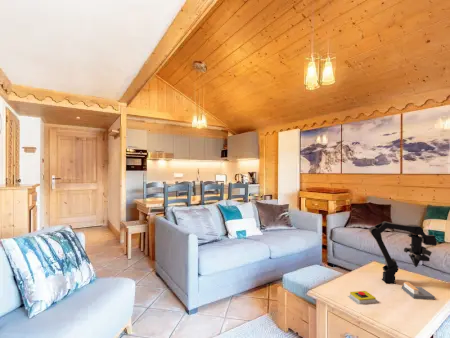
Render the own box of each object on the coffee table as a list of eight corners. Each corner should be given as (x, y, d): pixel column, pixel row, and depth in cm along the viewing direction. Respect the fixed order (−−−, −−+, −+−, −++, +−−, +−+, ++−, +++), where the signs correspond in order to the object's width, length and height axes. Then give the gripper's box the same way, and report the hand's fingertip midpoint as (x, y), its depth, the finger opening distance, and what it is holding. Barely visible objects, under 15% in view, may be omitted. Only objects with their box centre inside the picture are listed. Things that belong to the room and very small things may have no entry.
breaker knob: (414, 294, 154) (414, 289, 154) (403, 286, 164) (404, 281, 163) (418, 294, 153) (418, 289, 153) (407, 286, 163) (408, 282, 163)
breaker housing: (413, 298, 153) (413, 295, 153) (401, 288, 165) (401, 285, 165) (434, 299, 152) (434, 296, 152) (421, 290, 163) (421, 287, 163)
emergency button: (347, 290, 154) (368, 288, 157) (346, 297, 154) (368, 295, 157) (357, 297, 145) (380, 295, 148) (357, 305, 145) (379, 303, 148)
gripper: (439, 249, 159) (438, 273, 159) (421, 240, 177) (420, 262, 177) (419, 247, 161) (419, 272, 161) (403, 239, 179) (403, 261, 179)
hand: (415, 266), depth 169 cm, fingers closed
